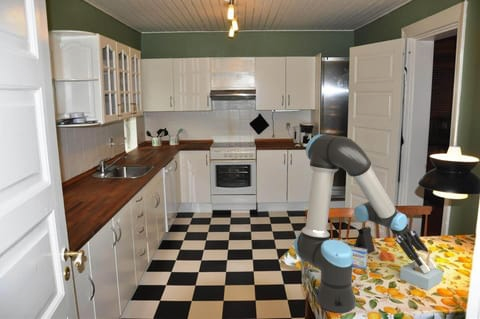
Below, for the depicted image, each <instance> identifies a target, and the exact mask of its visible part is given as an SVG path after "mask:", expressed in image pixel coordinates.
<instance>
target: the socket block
mask: <svg viewBox="0 0 480 319" xmlns="http://www.w3.org/2000/svg"><path fill="white" fill-rule="evenodd" d="M429 269H430V268H429ZM443 272H444V271H443V269H442V270H441V269H439V268H437V267H436V268H434V269H432V270H430V271H429V272H428V273H426V274H423V273H420V272H418V271H415V260H413V261H412V262H410V263H408V264H406V265H405V266H403V267H401V268H400V273H399V275H400V276H399V279H400V280H401V281H404V282H406V283H408V284H411V285H413V286H416V287H417V288H420V289H423V290H426V291H430V290H431V289H433V288H434V287H436V286H437V285H439V284H440V283H442V282H443Z"/></svg>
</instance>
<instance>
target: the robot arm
mask: <svg viewBox="0 0 480 319" xmlns="http://www.w3.org/2000/svg"><path fill="white" fill-rule="evenodd" d="M305 146H306V147H305V154H306V156H307V159H309V160H308V161H309V167H310V168H311V170H312V174H311V180H310V181H311V182H310V190H309V191H310V192H309V197H308V206H307V215H306V222H305V226H304V227H303V228H301V232H299V233H298V234H297V236H296V237H295V240H294V243H293V245H294V247H293V249H294V252H295V254H296V255H297V257H299V258H300V259H301V260H302V261H304V262H305V263H307V264H310V266H312V267H314V268H316V269H317V270H319V271H320V282H319V285H318V288H317V290H316V293H315V301H316V304H317V305H318V306H319V307H320V308H322V309H324V310H326V311H328V312H332V313H336V314H337V313H342V314H344V313H349V312H351V311H353V310H354V309H355V308H356V304H357V302H356V300H357V298H356V295H355V292H354V289H353V286H352V285H353V284H352V283H353V281H352V280H353V267H352V266H353V257H352V250H351V248H350V246H349V245H348V243H346V242H344V241H341V240H336V239H330V234H331V233H330V232H329V231H328V230H327V229H328V221H329V213H330V208H331V207H330V206H331V198H332V193H333V184H334V176H335V174H336V172H337V171H339V169H340V168H341V169H343V171H346V173H347V175H348V176H350V177H352V178H353V179H354V180H355V182H356V184H357V185H358V187H359V188H360V190H361V192H362V193H363V195H364V196H365V197H366V199H367V202H364V203H361V204H360V205H357V206H356V207H355V208H354V209H353V210H354V211H353V214H354V215H353V216H354V218H355V219H356V220H357V221H358V222H360V223H367V222H368V221H369V222H372V223H375V224H377V225H380V226H383V227H385V228H388V229H389V230H390V231H391V233H392V234H393V235H396V237H397V238H396V239H395V240H394V241H395V242H396V243H397V244H398V245H399V246H400V248H401V249H402V250H403V252H404V254H405V255H406V256H407V258H408V259H409V260H410V261H412V262H414V261H416V263H417V264H418V266H419V267H420V268H421V269H422V271H423V272H424V274H425V273H427V272H429V271H430V270H432V269H434V268H437V266H436V264H435V263H434V262H433V260H432V259H431V257H430V259H429V268H430V269H429V268H428V267H427V265H426V264H425V263H424V261H423V260H422V258H421V257H419V258H418V255H417V253H416V252H417V251H419V250H423V251H426V252H429V249H428V247H427V245H425V244H424V242H423V241H422V240H421V238H420V236H419V235H418V233H417V232H416V231H415V230H412V231H411V229H409V228H408V227H409V224H408V218H407V216H406V214H405V213H402V212H400V211H399V210H398V209H397V208H396V207H395V205H394V203H393V202H392V201H391V198H390V196H389V195H388V194H387V191H386V190H385V188H384V187H383V185H382V183H381V182H380V180H379V179H378V177H377V175H376V172H374V170H373V168H372V162H371V160H370V157H369V156H368V155H367V154H366V152H365V151H364V150H363V148H362V147H361V146H359V144H358V143H356V142H355V141H354V140H353V139H351V138H349V137H346V136H339V135H331V134H316V135H313V137H311V139H309V141H308V142H307V144H306V145H305ZM352 309H353V310H352ZM350 310H351V311H350Z"/></svg>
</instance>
